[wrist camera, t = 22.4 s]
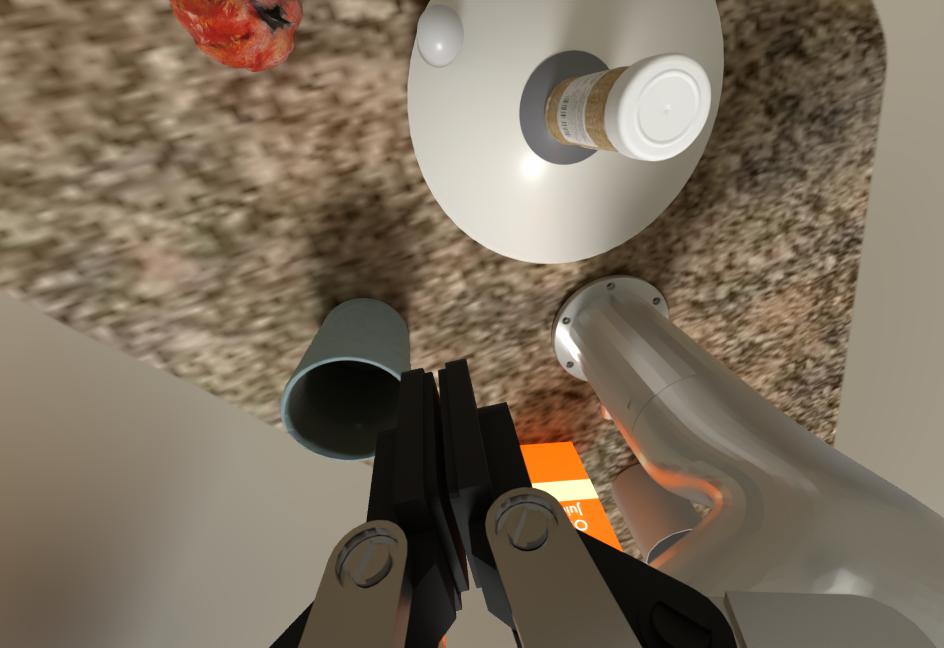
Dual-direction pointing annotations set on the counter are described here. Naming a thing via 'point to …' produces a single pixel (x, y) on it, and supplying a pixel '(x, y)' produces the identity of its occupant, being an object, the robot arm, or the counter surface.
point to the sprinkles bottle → (633, 107)
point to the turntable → (523, 125)
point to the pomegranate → (241, 29)
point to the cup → (652, 512)
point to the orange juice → (569, 487)
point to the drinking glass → (348, 381)
